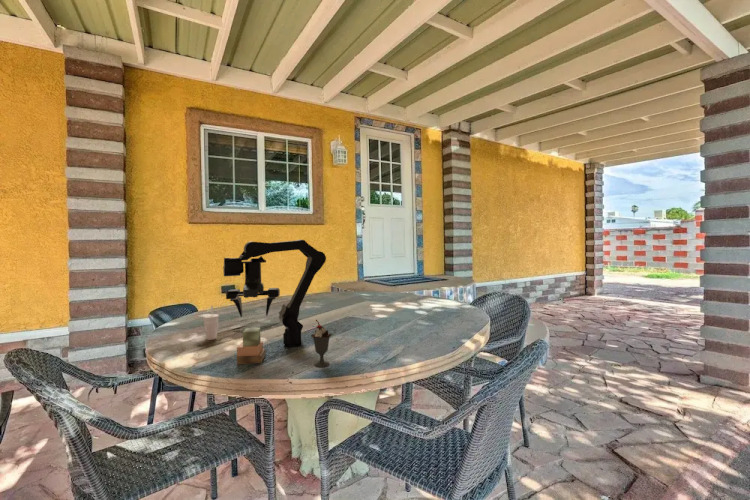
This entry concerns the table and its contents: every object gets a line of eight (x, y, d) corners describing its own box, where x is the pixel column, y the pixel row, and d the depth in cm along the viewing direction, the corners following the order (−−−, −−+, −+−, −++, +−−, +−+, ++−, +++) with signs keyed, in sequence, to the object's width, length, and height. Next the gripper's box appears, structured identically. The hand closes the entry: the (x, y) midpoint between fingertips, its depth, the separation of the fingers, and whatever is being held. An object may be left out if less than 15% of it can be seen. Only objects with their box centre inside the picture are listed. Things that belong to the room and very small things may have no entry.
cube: (260, 341, 131) (260, 327, 131) (258, 345, 126) (257, 331, 126) (246, 342, 130) (245, 328, 130) (243, 346, 125) (242, 331, 125)
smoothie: (213, 340, 151) (212, 307, 150) (199, 340, 152) (198, 306, 152) (223, 336, 157) (222, 304, 157) (209, 336, 159) (208, 304, 158)
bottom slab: (265, 356, 133) (265, 348, 132) (261, 364, 125) (261, 355, 125) (242, 357, 131) (242, 349, 131) (237, 365, 124) (236, 356, 123)
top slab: (263, 349, 132) (262, 340, 131) (258, 355, 125) (257, 346, 124) (243, 349, 131) (243, 341, 131) (237, 356, 124) (236, 347, 124)
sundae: (312, 361, 125) (311, 318, 124) (332, 361, 126) (331, 317, 125) (310, 368, 119) (309, 323, 118) (331, 367, 119) (330, 322, 118)
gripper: (221, 278, 128) (223, 322, 129) (276, 276, 131) (277, 319, 132) (228, 274, 139) (230, 315, 140) (279, 273, 142) (280, 313, 143)
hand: (254, 316), depth 138 cm, fingers open, 9 cm apart
